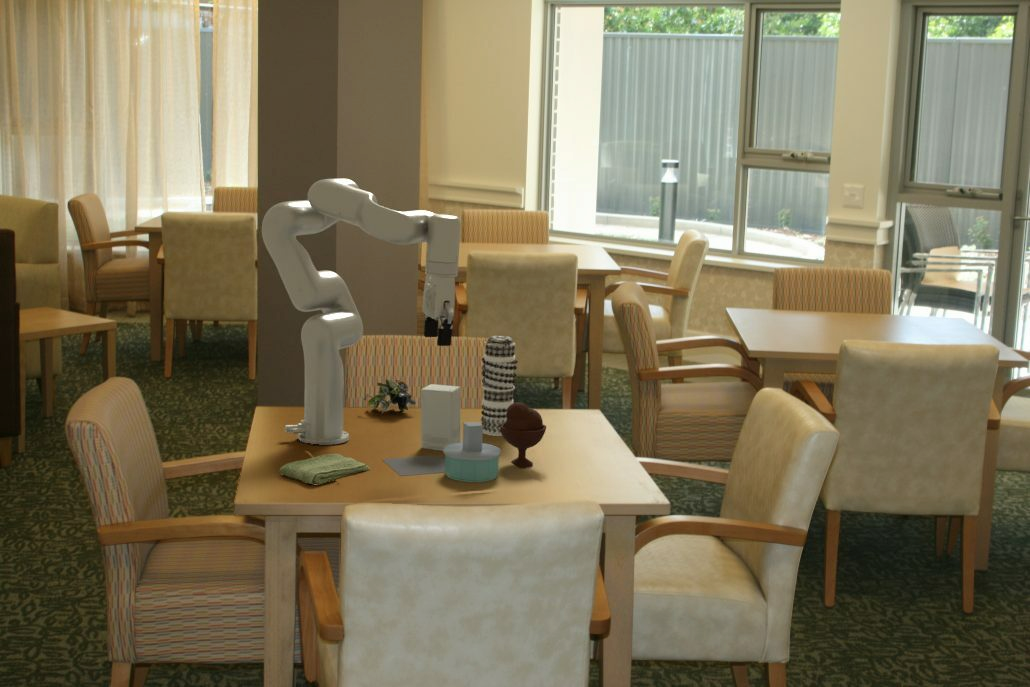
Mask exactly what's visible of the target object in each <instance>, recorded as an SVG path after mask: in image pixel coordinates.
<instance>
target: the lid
mask: <svg viewBox="0 0 1030 687" xmlns="http://www.w3.org/2000/svg"><path fill="white" fill-rule="evenodd" d="M462 428H463V429H462V442H460V443H454V444H450V445H447V446H445V447H444V450H443V451H442V452H443V455H444V456H445V455H446V456H447V457H450V458H453V459H457V460H464V461H486V460H492V459H495V458H498V457H499V458H500V457H501V454H502V453H501V452H502V450H501V448H499V447H498V446H495V445H493V444H489V443H485V442H484V443H483V436H484V434H483V425H481V423H480V422H478V421H472V422H471V421H470V422H463V426H462Z"/></svg>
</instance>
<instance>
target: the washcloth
mask: <svg viewBox="0 0 1030 687" xmlns="http://www.w3.org/2000/svg"><path fill="white" fill-rule="evenodd" d="M370 470H371V467H369V466H368V465H366V463H364V462H363V463H362V462H360V461H357V460H356V459H354V458H352V457H345V456H343V455H342V454H340V453H330V454H329V453H328V454H327V453H326V454H321V455H318V456H314V457H309V458H307V459H301V460H296V461H293V462H288V463H286V464H284V465H282V466H281V467H280V468H279V473H280V475H281V474H283V475H286V476H289V477H288V478H290V477H292V478H296V479H295V480H297V479H299V480H298V481H300V480H302V481H303V482H307V483H309V484H313V485H314V484H321V485H324V484H323V483H325V484H327V483H326V482H329V481H333V480H337V479H340V478H342V477H346V476H350V475H353V474H357V473H361V472H365V471H367V472H368V471H370ZM283 475H282V476H283ZM286 476H285V477H286ZM292 478H291V479H292ZM302 481H301V482H302ZM303 482H302V483H303ZM333 482H334V481H333ZM309 484H308V485H309ZM313 485H312V486H313Z"/></svg>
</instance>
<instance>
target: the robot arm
mask: <svg viewBox="0 0 1030 687" xmlns="http://www.w3.org/2000/svg"><path fill="white" fill-rule="evenodd" d="M339 221H342V222H343V223H346V224H349V225H353V226H356V227H359V228H360V230H362V231H363V232H364V233H365V234H367V235H369V236H371V237H373V238H376V239H379V240H382V241H385V242H388V243H391V244H395V245H400V246H401V245H402V246H403V245H404V246H405V245H411V244H421V243H426V250H425V251H426V252H425V270H424V274H425V275H426V276H425V279H424V285H423V294H422V304H421V311H422V312H423V314H424V328H423V330H424V331H423V336H424V338H437V339H436V340H437V342H436V344H437V346H439V347H450V346H451V345H452V339H453V338H452V336H453V334H452V333H453V328H454V327H453V323H454V315H455V305H456V304H455V303H456V302H455V301H456V299H455V298H456V281H455V280H456V279H455V278H456V277H458V273H459V256H460V241H461V228H462V225H461V223H462V222H461V219H460V218H459V217H458V216H456V215H451V214H443V213H442V214H441V213H435V212H432V211H428V210H423V209H418V210H417V209H416V210H406V211H398V210H395V209H390V208H388V207H386V206H385V207H384V206H382V205H379V204H378V200H377V197H376V196H375V194H373V193H372V192H370V191H367V190H363V189H360V187H359V186H358V184H357V183H356V182H354V181H353V180H351V179H349V178H343V177H342V178H341V177H340V178H339V177H337V178H325V179H324V178H323V179H319V180H318V181H316V182H314V183H313V184H312V185H311V186H310V187H309V190H308V192H307V199H305V200H304V199H302V200H289V201H282V202H279V203H276V204H274V205H272V207H269V209H268V210H267V211H266V213H265V214H264V217H263V220H262V224H261V236H262V239H263V240H262V241H263V244H264V245H265V246H264V247H265V248H266V250H267V252H268V253H269V255H270V257H271V259H272V260H273V262H274V265H275V267H276V270H278V274H279V276H280V278H281V281H282V283H283V285H284V288H285V290H286V292H287V294H288V296H289V299H290V302H291V303H292V305H293V307H294V308H295V309H296V310H298V311H300V312H304V313H308V312H315V311H321V312H322V313H317V314H315V315H313V316H311V317H309V318H308V319H307V320H306V321H304V323H303V325H302V328H301V332H300V339H301V345H302V351H303V360H304V404H303V406H304V410H303V412H304V416H303V417H304V418H303V419H300V422H298V423H297V424H286V425H284V433H285V434H288V433H289V434H291V433H292V435H297V440H298V439H299V440H300V441H299V440H298V441H299V442H301V441H302V442H301V443H303V442H305V443H304V444H307V443H311V444H310V445H313V444H319V445H318V446H334V445H339V444H344V443H346V442H348V441H349V440H350V434H349V433H348V432H347V431H345V430H344V393H345V392H344V387H345V386H344V385H345V384H344V382H345V379H344V378H345V377H344V376H345V375H344V370H345V368H344V363H343V360H342V357H341V355H340V350H342V349H345V348H349V347H352V346H355V345H356V344H358V343H359V342H360V340H361V339H362V337H363V334H364V324H363V320H362V317H361V315H360V312H359V311H358V309H357V306H356V304H355V302H354V299H353V296H352V295H351V292H350V289H349V288H348V286H347V284H346V282H345V280H344V279H343V278H342V277H341V276H340V275H339V274H338V273H336V272H335V271H332V270H317V268H316V266H315V265H314V263H313V261H312V257H311V256H310V254H309V252H308V251H307V249H306V248H305V247H304V246H303V244H301V243H300V242H299V240H297V236H304V235H305V236H306V235H314V234H318V233H321V232H324V231H325V230H327V229H329V228H330V227H331V226H333V225H335V224H336V223H338V222H339ZM333 444H334V445H333Z"/></svg>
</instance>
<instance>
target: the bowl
mask: <svg viewBox="0 0 1030 687" xmlns="http://www.w3.org/2000/svg"><path fill="white" fill-rule="evenodd" d="M444 456H445V459H444V460H445V476H446V477H447V478H450V479H451V480H455V481H459V482H468V483H480V482H481V483H482V482H488V481H492V480H494V479H496V478H497V477H498V476H499V475H498V474H499V466H500V465H499V464H500V456H499V457H498V458H495V459H492V460H486V461H464V460H457V459H453V458H450V457H447V456H446V455H444Z"/></svg>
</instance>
